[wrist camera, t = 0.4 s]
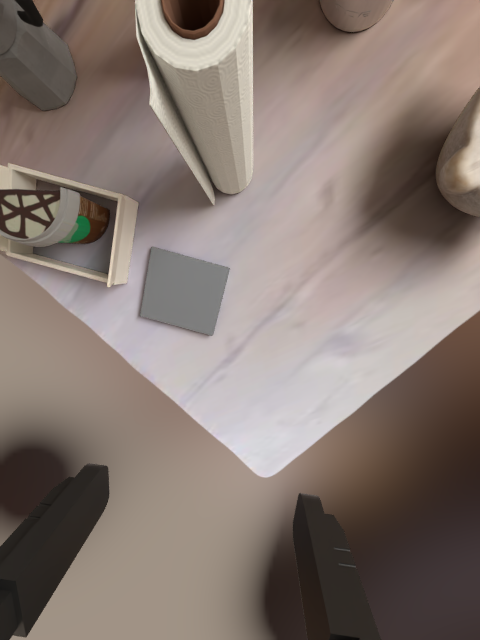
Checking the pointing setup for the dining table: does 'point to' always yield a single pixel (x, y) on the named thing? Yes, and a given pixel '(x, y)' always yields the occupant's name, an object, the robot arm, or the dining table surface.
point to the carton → (126, 206)
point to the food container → (50, 217)
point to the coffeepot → (34, 56)
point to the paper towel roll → (203, 84)
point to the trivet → (183, 291)
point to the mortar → (462, 161)
